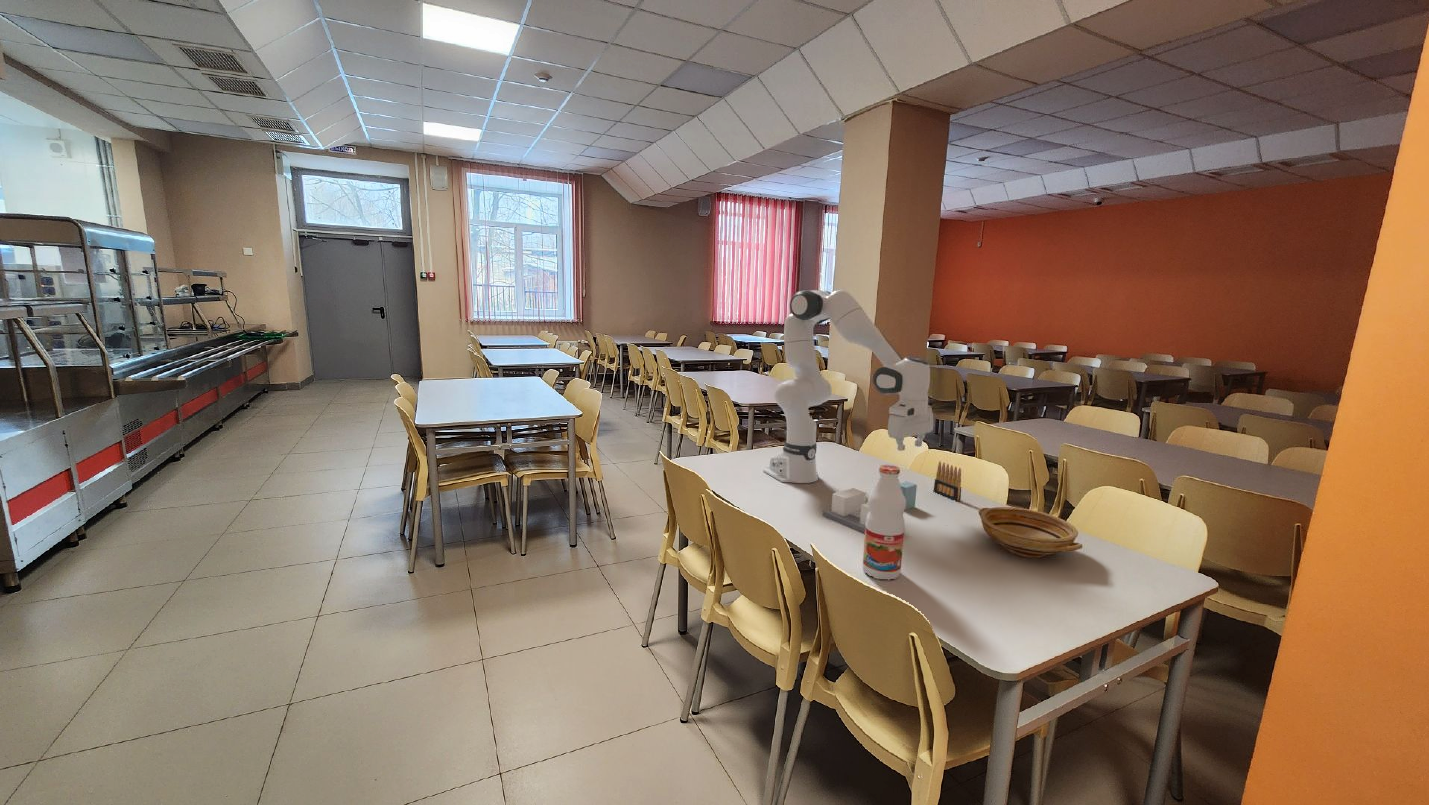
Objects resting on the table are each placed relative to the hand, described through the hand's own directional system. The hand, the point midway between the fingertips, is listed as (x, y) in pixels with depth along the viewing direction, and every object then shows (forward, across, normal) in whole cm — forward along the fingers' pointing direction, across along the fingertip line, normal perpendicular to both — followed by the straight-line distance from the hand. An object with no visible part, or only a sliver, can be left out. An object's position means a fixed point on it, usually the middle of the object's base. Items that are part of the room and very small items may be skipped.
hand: (909, 448), depth 186 cm
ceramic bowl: (+21, -1, +39) cm, 44 cm away
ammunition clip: (+21, -22, +2) cm, 30 cm away
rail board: (+20, +22, 0) cm, 30 cm away
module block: (+21, 0, 0) cm, 21 cm away
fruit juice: (+21, +45, +25) cm, 55 cm away
